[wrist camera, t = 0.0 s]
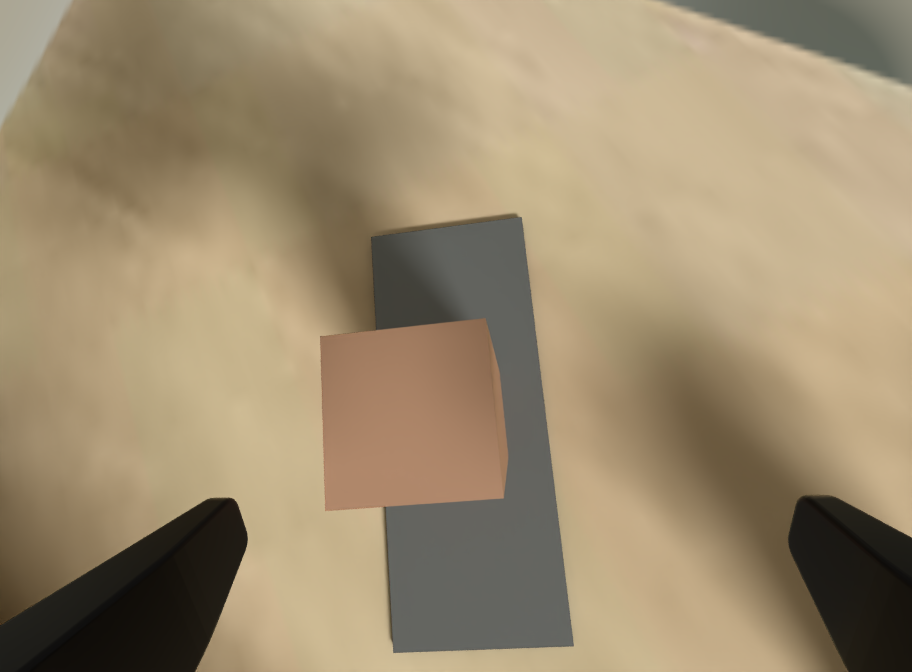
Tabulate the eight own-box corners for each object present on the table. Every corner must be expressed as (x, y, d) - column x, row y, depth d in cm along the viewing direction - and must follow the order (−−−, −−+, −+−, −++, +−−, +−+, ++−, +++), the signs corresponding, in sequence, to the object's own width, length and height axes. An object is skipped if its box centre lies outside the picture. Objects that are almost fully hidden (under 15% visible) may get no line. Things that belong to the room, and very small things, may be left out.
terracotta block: (508, 456, 22) (503, 498, 10) (424, 463, 22) (325, 510, 10) (499, 372, 22) (485, 318, 11) (419, 379, 23) (320, 336, 11)
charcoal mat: (572, 641, 20) (573, 646, 20) (395, 648, 21) (393, 652, 21) (521, 220, 24) (521, 217, 24) (373, 239, 25) (371, 236, 24)
